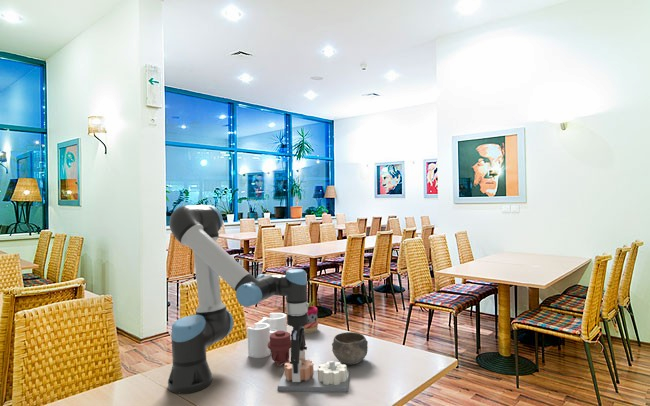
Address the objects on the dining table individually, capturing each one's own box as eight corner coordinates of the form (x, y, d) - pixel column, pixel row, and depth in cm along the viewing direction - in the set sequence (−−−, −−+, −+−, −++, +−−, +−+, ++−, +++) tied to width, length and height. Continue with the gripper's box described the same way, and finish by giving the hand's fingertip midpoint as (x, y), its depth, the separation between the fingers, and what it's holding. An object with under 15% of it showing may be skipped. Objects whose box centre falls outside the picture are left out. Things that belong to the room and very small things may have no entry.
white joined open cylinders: (265, 359, 167) (265, 330, 166) (245, 357, 170) (244, 328, 170) (290, 338, 190) (289, 313, 190) (272, 337, 193) (271, 312, 193)
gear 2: (322, 387, 137) (322, 375, 137) (315, 374, 147) (314, 363, 147) (351, 382, 140) (350, 371, 140) (341, 370, 150) (341, 359, 150)
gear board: (277, 390, 139) (277, 368, 139) (285, 374, 152) (284, 354, 152) (347, 392, 136) (346, 369, 136) (349, 375, 149) (348, 355, 149)
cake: (294, 332, 199) (293, 302, 198) (302, 326, 209) (301, 297, 208) (314, 334, 195) (313, 303, 195) (321, 327, 205) (320, 298, 205)
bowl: (329, 368, 156) (328, 342, 156) (337, 353, 171) (336, 329, 171) (365, 370, 152) (364, 344, 152) (370, 355, 167) (369, 331, 167)
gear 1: (282, 381, 140) (281, 369, 140) (288, 369, 150) (287, 358, 150) (311, 381, 139) (310, 370, 139) (315, 369, 149) (314, 358, 149)
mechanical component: (296, 358, 167) (289, 368, 157) (273, 357, 169) (264, 367, 159) (295, 328, 166) (288, 336, 157) (272, 327, 168) (263, 335, 159)
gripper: (302, 323, 133) (304, 389, 133) (312, 304, 155) (313, 361, 156) (280, 322, 133) (282, 389, 134) (292, 304, 156) (294, 361, 156)
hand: (299, 374), depth 145 cm, fingers closed on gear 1, 10 cm apart
